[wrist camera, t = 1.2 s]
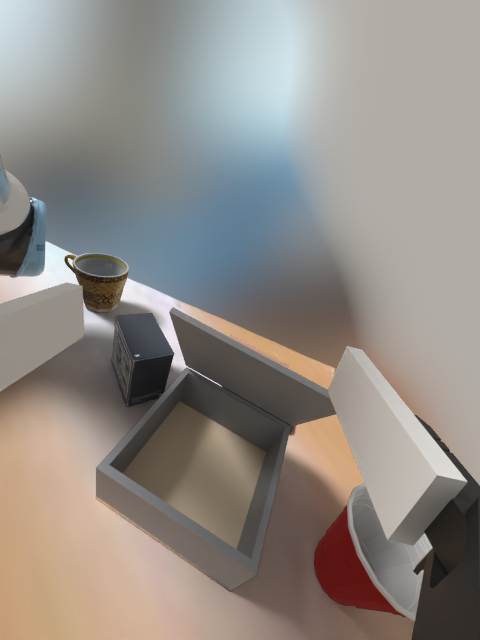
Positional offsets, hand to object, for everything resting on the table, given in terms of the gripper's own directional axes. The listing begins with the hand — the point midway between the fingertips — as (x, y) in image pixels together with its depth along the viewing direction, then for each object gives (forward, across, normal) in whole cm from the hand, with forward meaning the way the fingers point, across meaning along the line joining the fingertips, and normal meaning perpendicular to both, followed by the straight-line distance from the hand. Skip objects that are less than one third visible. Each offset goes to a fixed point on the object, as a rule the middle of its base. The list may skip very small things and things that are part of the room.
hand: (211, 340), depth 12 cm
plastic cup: (+7, +20, -32) cm, 38 cm away
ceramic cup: (+40, -31, -18) cm, 54 cm away
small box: (+25, -14, -24) cm, 37 cm away
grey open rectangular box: (+13, 0, -28) cm, 31 cm away
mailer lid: (+14, +4, -12) cm, 19 cm away
